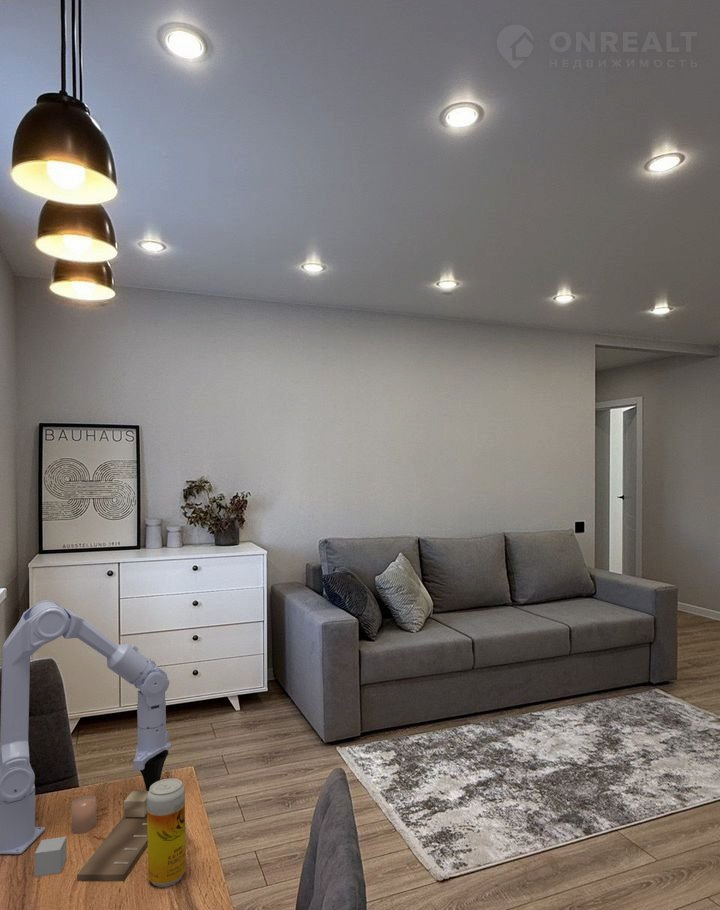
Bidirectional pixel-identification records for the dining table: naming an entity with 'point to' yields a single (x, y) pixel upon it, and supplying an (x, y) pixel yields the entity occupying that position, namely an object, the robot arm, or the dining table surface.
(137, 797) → the birch slider
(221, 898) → the dining table surface
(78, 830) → the terracotta cylinder
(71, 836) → the dining table surface
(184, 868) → the beer can
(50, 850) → the grey cube
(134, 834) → the board
